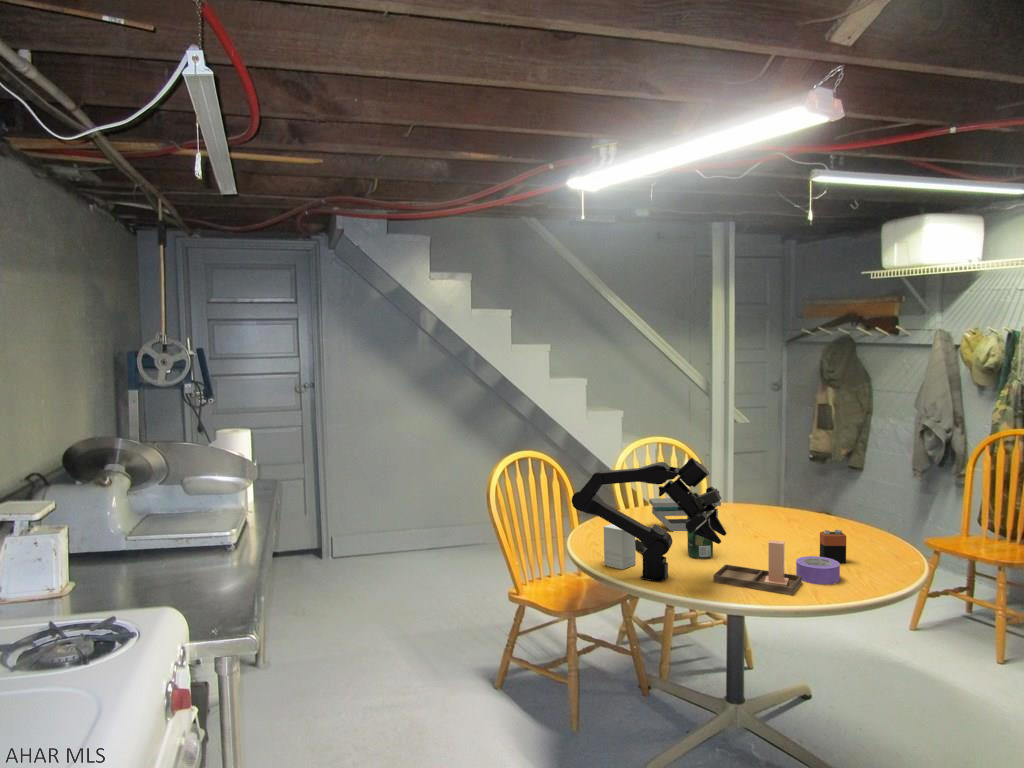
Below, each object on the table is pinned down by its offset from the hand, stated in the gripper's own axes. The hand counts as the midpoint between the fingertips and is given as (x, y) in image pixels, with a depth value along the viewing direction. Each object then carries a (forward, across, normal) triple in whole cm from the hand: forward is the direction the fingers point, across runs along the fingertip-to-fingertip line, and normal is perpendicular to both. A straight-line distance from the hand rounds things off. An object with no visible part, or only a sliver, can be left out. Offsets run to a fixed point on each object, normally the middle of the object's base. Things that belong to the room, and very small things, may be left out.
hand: (722, 538), depth 204 cm
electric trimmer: (-11, +23, +31) cm, 40 cm away
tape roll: (+27, +18, -7) cm, 33 cm away
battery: (+30, +36, -10) cm, 48 cm away
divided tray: (+16, +7, +4) cm, 17 cm away
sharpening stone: (-7, +60, +26) cm, 66 cm away
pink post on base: (+19, +6, -1) cm, 20 cm away
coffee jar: (+2, +28, +18) cm, 33 cm away
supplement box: (-13, +7, +33) cm, 36 cm away
